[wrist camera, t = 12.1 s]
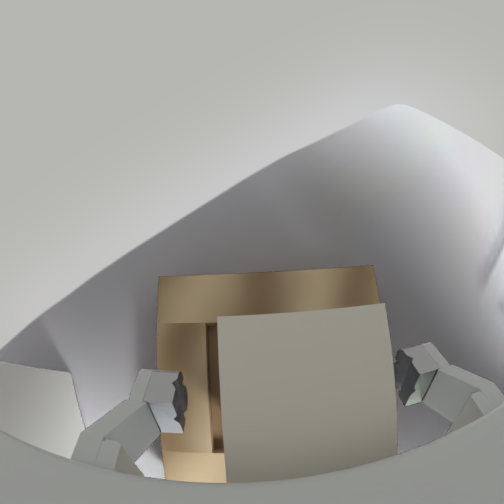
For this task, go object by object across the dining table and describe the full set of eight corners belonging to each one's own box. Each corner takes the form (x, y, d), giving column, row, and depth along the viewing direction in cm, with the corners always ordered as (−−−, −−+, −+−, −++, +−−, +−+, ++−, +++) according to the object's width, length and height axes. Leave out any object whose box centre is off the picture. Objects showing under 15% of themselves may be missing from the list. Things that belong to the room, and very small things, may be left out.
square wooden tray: (356, 280, 21) (372, 265, 18) (373, 457, 15) (392, 467, 12) (171, 291, 20) (158, 276, 17) (178, 475, 15) (167, 491, 12)
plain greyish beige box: (314, 342, 17) (384, 302, 8) (319, 417, 15) (397, 457, 6) (234, 347, 17) (216, 316, 8) (238, 425, 15) (227, 485, 6)
